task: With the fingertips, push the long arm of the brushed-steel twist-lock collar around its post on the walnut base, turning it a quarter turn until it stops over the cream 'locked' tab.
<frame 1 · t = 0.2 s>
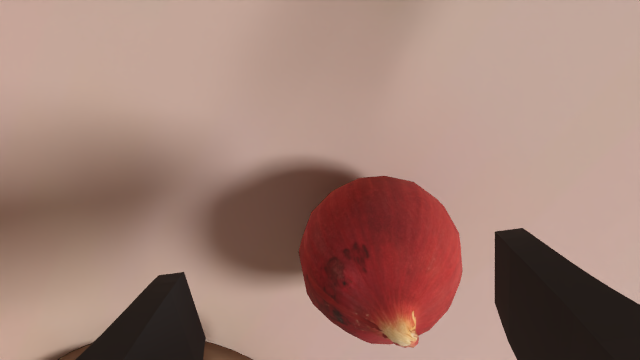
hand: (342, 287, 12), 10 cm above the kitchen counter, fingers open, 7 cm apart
onion: (369, 203, 23), on the kitchen counter
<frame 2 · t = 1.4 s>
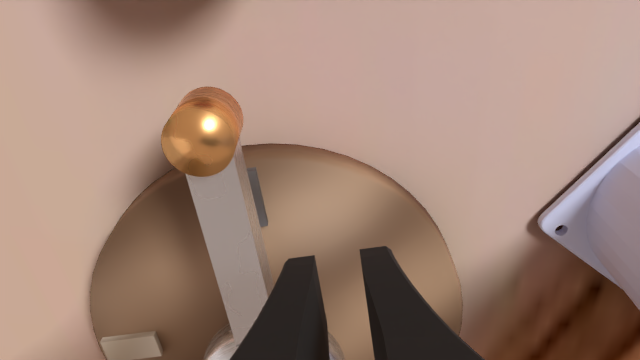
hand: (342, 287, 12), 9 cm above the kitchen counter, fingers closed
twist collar: (249, 297, 18), point 5 cm above the kitchen counter, hinge at 0.0°
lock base: (279, 303, 25), on the kitchen counter
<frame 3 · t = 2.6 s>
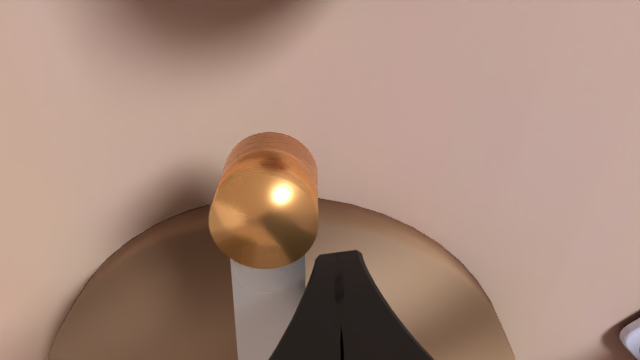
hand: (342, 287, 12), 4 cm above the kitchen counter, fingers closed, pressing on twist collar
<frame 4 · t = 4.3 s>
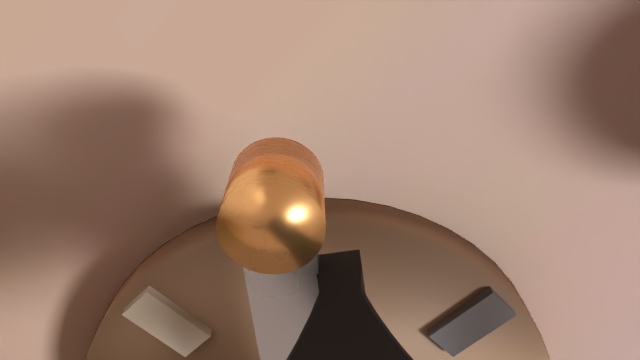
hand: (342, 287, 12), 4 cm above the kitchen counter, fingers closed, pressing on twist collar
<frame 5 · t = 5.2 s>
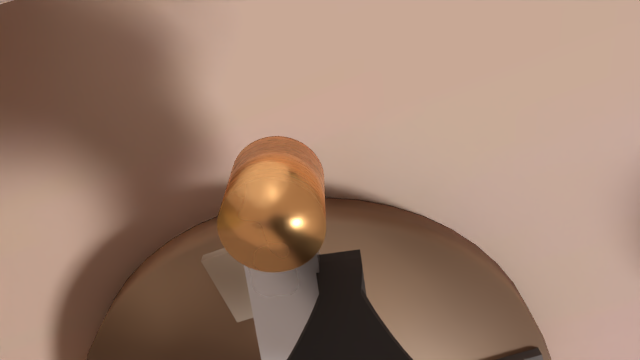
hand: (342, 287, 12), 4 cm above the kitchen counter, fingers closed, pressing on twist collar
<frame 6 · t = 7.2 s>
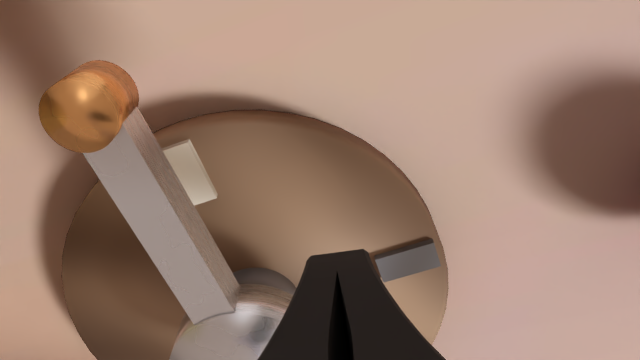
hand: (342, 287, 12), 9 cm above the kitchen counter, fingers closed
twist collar: (194, 272, 18), point 5 cm above the kitchen counter, hinge at 91.3°
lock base: (260, 279, 24), on the kitchen counter
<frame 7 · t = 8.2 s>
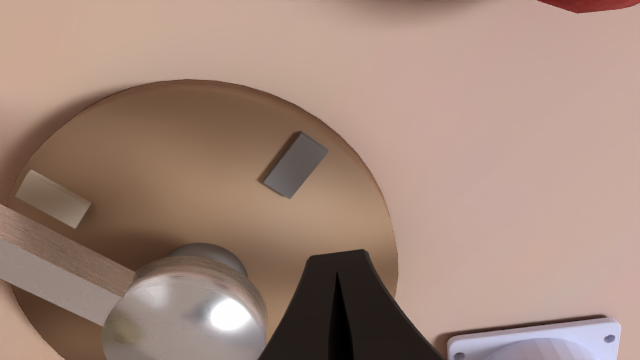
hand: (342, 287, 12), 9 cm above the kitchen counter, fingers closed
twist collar: (71, 280, 18), point 5 cm above the kitchen counter, hinge at 91.3°
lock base: (210, 257, 23), on the kitchen counter
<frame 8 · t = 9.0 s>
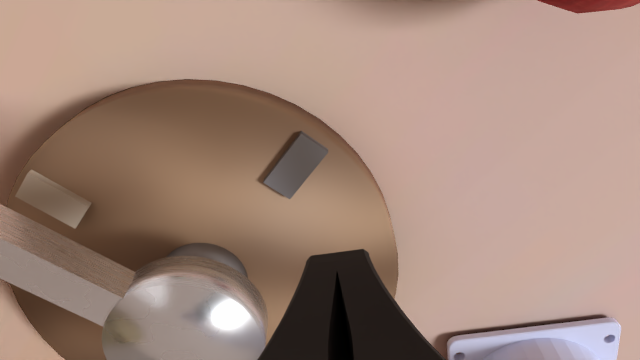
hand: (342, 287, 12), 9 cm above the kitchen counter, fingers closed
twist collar: (71, 280, 18), point 5 cm above the kitchen counter, hinge at 91.3°
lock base: (210, 257, 23), on the kitchen counter
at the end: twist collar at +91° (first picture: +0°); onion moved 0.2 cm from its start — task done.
